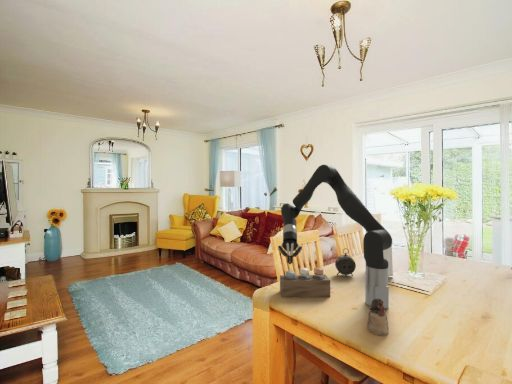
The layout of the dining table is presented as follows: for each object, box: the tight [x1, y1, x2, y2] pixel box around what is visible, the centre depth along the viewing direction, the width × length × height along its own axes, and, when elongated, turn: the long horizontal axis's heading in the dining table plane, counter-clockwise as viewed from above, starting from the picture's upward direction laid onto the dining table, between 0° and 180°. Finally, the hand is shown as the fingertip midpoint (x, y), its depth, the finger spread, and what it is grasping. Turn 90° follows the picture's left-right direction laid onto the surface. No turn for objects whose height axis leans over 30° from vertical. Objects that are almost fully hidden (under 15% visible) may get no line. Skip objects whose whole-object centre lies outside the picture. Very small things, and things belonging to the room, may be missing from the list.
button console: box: [279, 274, 331, 298], centre depth 132 cm, size 8×23×8 cm, turn 93°
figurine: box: [366, 298, 389, 336], centre depth 99 cm, size 7×7×12 cm
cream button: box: [299, 267, 310, 276], centre depth 132 cm, size 4×4×2 cm
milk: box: [383, 244, 394, 277], centre depth 161 cm, size 12×12×26 cm
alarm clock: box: [334, 247, 357, 278], centre depth 158 cm, size 11×5×16 cm, turn 84°
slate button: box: [285, 270, 296, 279], centre depth 132 cm, size 4×4×2 cm
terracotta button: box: [313, 267, 324, 275], centre depth 132 cm, size 4×4×2 cm
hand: (290, 263), depth 136 cm, fingers closed
